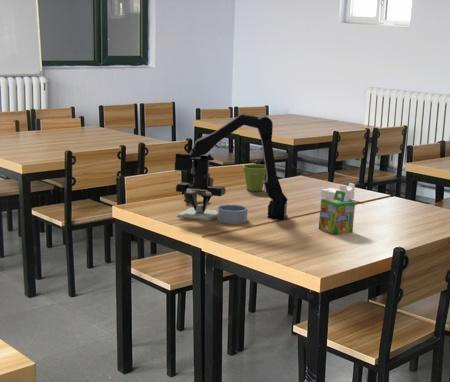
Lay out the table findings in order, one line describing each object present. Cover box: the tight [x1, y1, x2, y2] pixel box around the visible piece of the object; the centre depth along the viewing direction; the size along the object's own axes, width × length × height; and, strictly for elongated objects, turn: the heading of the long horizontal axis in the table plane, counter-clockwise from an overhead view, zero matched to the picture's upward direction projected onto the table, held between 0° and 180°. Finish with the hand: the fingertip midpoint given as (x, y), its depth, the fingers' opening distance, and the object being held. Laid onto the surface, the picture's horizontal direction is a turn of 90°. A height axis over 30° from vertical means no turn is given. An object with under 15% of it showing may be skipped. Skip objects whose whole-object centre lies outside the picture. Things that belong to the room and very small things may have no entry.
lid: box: [177, 204, 217, 221], centre depth 275 cm, size 13×13×4 cm
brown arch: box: [183, 189, 206, 204], centre depth 297 cm, size 12×10×8 cm
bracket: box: [320, 182, 356, 201], centre depth 316 cm, size 13×7×8 cm, turn 42°
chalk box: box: [318, 189, 356, 235], centre depth 259 cm, size 9×9×15 cm
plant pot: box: [242, 163, 266, 192], centre depth 327 cm, size 12×12×11 cm
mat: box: [175, 215, 217, 222], centre depth 275 cm, size 14×14×1 cm
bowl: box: [216, 204, 249, 225], centre depth 269 cm, size 11×11×5 cm
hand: (199, 210), depth 275 cm, fingers closed on lid, 3 cm apart
